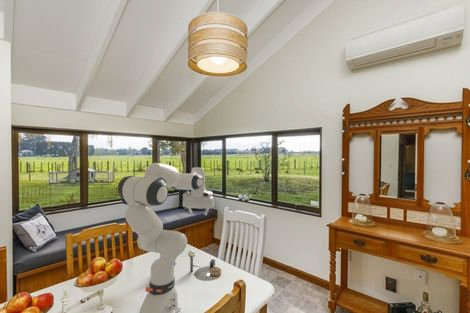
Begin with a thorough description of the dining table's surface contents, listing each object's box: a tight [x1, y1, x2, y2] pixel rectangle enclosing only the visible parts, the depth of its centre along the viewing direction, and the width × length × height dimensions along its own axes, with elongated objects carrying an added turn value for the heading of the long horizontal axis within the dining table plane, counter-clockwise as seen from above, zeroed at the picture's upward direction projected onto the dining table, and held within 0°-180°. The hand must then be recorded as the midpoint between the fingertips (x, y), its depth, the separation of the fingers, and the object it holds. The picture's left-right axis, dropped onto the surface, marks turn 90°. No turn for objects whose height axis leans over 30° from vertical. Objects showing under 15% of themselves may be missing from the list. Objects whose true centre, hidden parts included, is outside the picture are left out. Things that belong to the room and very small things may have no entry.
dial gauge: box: [187, 250, 201, 273], centre depth 147 cm, size 8×4×15 cm, turn 78°
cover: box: [210, 266, 222, 278], centre depth 144 cm, size 7×7×4 cm
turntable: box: [193, 258, 221, 282], centre depth 147 cm, size 20×17×4 cm
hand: (198, 214), depth 144 cm, fingers open, 8 cm apart
